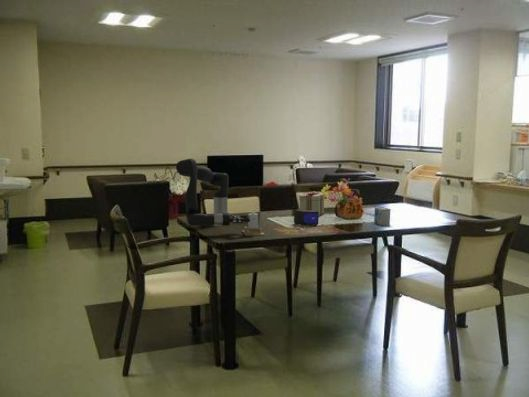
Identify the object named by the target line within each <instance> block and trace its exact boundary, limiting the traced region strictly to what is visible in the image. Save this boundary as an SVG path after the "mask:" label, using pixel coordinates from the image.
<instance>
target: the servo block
mask: <svg viewBox="0 0 529 397" xmlns="http://www.w3.org/2000/svg"><path fill="white" fill-rule="evenodd" d="M247 218H249V219H250V222H247V227H248V229H258V226H259V214H258V213H257V212H251V213H247Z"/></svg>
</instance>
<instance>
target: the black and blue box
mask: <svg viewBox="0 0 529 397" xmlns="http://www.w3.org/2000/svg"><path fill="white" fill-rule="evenodd" d="M319 218H320V216H319V212H318V211H307V210H300V209H296V210H294V211H293V223H294V224H295V225H298V224H301V225H300V226H317V225H318V224H319Z"/></svg>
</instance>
